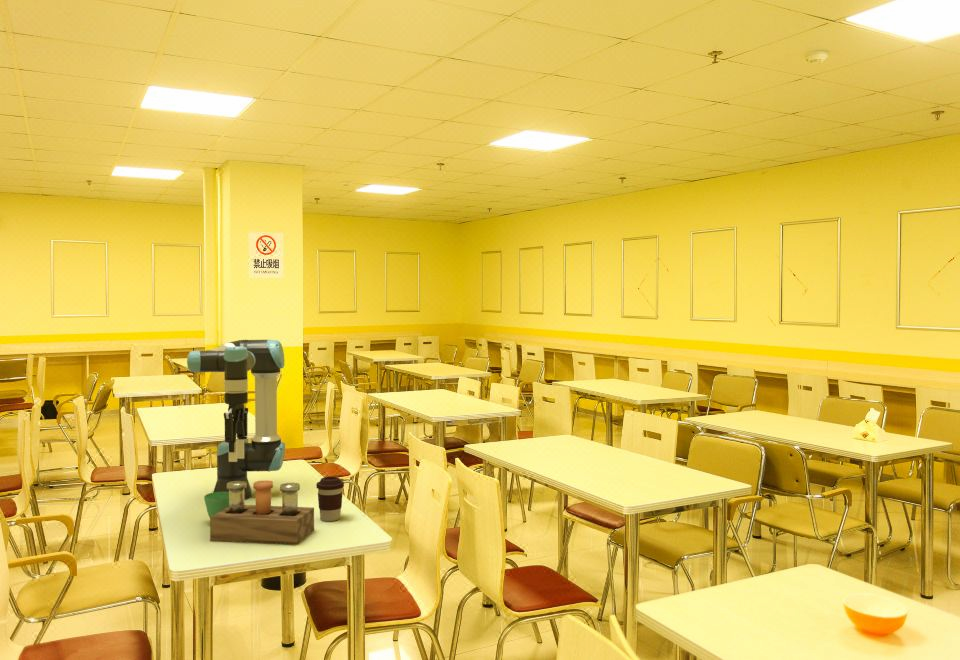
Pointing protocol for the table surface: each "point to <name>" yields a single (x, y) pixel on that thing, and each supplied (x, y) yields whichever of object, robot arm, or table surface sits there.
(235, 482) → the plunger
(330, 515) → the coffee cup
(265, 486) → the plunger
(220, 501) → the mug
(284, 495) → the plunger
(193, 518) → the table surface
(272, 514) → the brown wooden block
